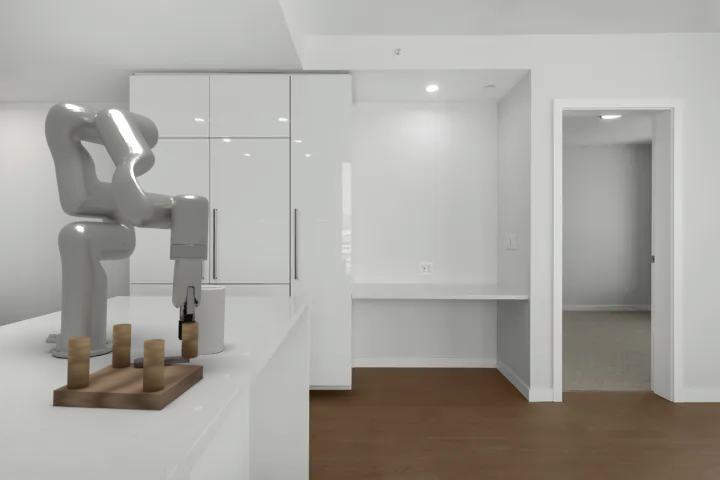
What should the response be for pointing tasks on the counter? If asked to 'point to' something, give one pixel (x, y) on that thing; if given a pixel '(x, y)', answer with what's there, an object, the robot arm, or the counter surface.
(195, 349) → the hinged leg
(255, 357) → the counter surface
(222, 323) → the cup
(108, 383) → the stool seat
